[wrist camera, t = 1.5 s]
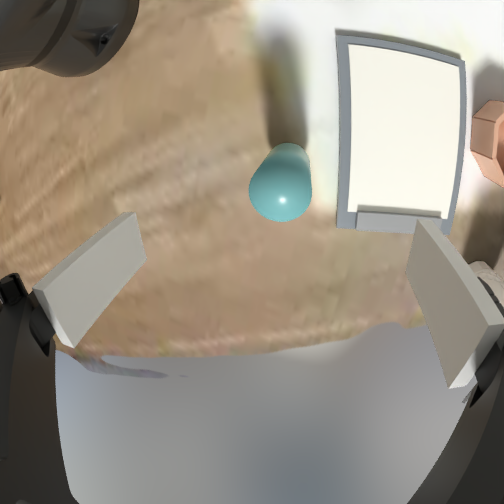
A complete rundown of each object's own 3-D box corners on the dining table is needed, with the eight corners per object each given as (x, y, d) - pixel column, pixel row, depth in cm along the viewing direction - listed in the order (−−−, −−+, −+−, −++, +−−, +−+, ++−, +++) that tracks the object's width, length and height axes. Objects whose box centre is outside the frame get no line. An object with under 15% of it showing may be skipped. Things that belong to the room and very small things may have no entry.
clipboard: (335, 36, 19) (337, 32, 18) (461, 61, 17) (468, 60, 15) (335, 224, 29) (337, 231, 28) (446, 231, 27) (452, 238, 25)
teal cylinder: (268, 140, 26) (246, 162, 17) (309, 140, 25) (312, 162, 16) (270, 178, 28) (250, 220, 19) (309, 178, 27) (310, 222, 18)
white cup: (481, 245, 26) (519, 292, 18) (499, 277, 28) (530, 323, 19) (440, 284, 30) (467, 338, 22) (462, 311, 31) (485, 362, 23)
